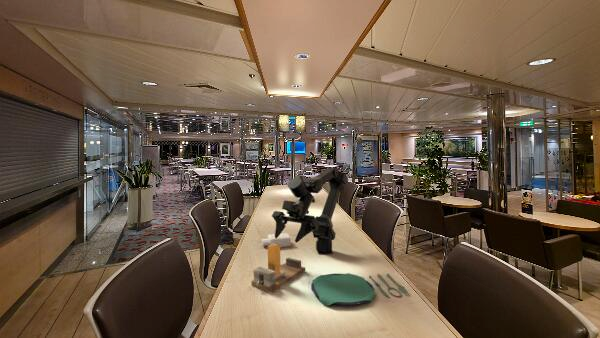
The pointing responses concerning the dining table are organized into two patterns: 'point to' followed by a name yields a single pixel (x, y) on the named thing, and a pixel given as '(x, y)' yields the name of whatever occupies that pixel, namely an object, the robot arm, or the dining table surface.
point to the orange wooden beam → (274, 262)
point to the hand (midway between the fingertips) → (285, 239)
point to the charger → (277, 240)
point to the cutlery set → (348, 289)
